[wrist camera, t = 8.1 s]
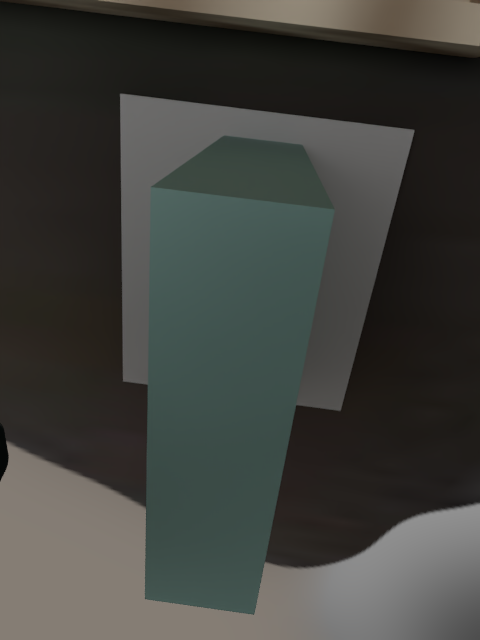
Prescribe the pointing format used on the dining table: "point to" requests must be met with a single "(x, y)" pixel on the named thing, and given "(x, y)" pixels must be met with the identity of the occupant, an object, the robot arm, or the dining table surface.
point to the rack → (317, 19)
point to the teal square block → (226, 360)
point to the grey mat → (339, 183)
